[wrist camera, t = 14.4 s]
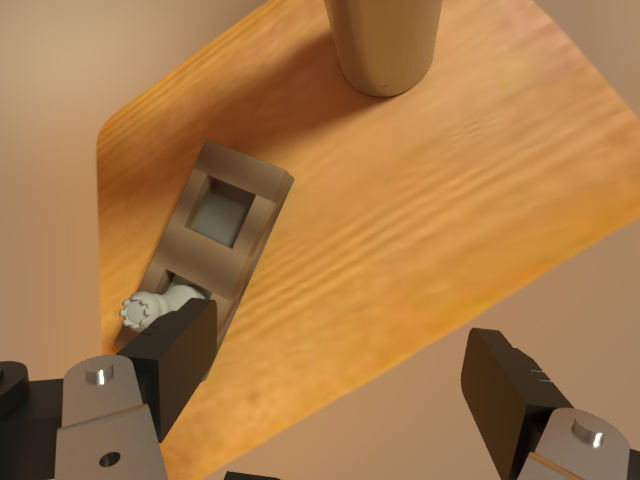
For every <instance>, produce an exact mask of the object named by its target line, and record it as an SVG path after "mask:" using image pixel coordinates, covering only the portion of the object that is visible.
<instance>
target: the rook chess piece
mask: <svg viewBox="0 0 640 480" xmlns="http://www.w3.org/2000/svg"><path fill="white" fill-rule="evenodd" d="M190 298H202V299H205V296H204V294H203V292H202V291H201V290H200V289H199V288H198V287H196V286H194V285H191V284H181V285H176V286H174V287H172V288H170V289H168V290H167V291H166V292H165V293H164V294H163V295H158V294H150V293H148V292H145V291H143V292H137V293H135V294H133V295H132V296H131V297H130V298H129V299H126V300H125V301H124V302H123V303H122V305H124V306H125V308H124V310H120V316H124V318H125V320H124V321H122V323H123V324H124V325H125V326H129V327H130V328H131V329H132V330H135V331H137V332H142V331H143V330H144V329H145V328H146V327H147V328H148V325H149V324H151V323H152V322H153V321H154V320H155V319H156V318H157V317H159V316H162V315H164V314H166V313H168V312H170V311H177V310H178V309H179V308H180V307H181V306H182V305H184V304H185V303H186V302H187V301H188V300H189V299H190Z"/></svg>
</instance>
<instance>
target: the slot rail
mask: <svg viewBox="0 0 640 480" xmlns="http://www.w3.org/2000/svg"><path fill="white" fill-rule="evenodd" d="M293 181H294V178H293V177H292V176H291V175H290V174H289V173H288V172H287V171H286V170H284V169H282V168H279V167H277V166H274V165H272V164H269V163H266V162H264V161H261V160H259V159H256V158H254V157H251V156H249V155H246V154H244V153H241V152H238V151H236V150H233V149H231V148H228V147H226V146H223V145H221V144H218V143H216V142H213V141H211V140H208V139H206V141H205V143H204V145H203V147H202V149H201V152H200V154H199V156H198V158H197V161H196V163H195V165H194V167H193V169H192V172H191V174H190V176H189V178H188V181H187V183H186V185H185V187H184V190H183V192H182V194H181V196H180V198H179V201H178V203H177V205H176V207H175V210H174V212H173V214H172V216H171V219H170V221H169V223H168V225H167V227H166V230H165V232H164V234H163V236H162V239H161V241H160V243H159V245H158V247H157V250H156V252H155V254H154V256H153V259H152V261H151V263H150V265H149V268H148V270H147V272H146V274H145V276H144V279H143V281H142V283H141V285H140V288H139V290H138V292H143V291H145V292H148V293H150V294H158V295H163V294H164V293H165V292H166V291H167V290H168V289H170V288H172V287H174V286H176V285H181V284H191V285H194V286H196V287H198V288H199V289H200V290H201V291H202V292H203V294H204V296H205V299H211V300H215V301H216V303H217V349H216V354H215V358H216V355H217V353H218V351H219V348H220V346H221V344H222V342H223V339H224V337H225V335H226V333H227V330H228V328H229V326H230V324H231V321H232V319H233V317H234V315H235V312H236V310H237V308H238V305H239V303H240V301H241V299H242V296H243V294H244V292H245V290H246V287H247V285H248V283H249V281H250V278H251V276H252V274H253V272H254V269H255V267H256V265H257V262H258V260H259V258H260V256H261V253H262V251H263V249H264V247H265V244H266V242H267V240H268V238H269V235H270V233H271V231H272V229H273V226H274V224H275V222H276V219H277V217H278V215H279V213H280V210H281V208H282V206H283V204H284V201H285V199H286V197H287V195H288V192H289V190H290V188H291V185H292V183H293ZM137 335H140V332H137V331H135V330H132V329H131V328H130V327H129V326H125V325H124V324H123V325H122V328H121V330H120V332H119V334H118V337H117V339H116V341H115V343H114V345H116V346H118V347H120V348H121V349H122V348H123V347H125V346H126V345H127V344H128V343H129V342H130V341H131V340H132V339H134V338H135V337H136V336H137ZM215 358H214V360H215ZM213 362H214V361H213ZM212 364H213V363H212ZM211 367H212V365H211ZM211 367H210V368H209V370H208V371H207V373H206V374H205V376H204V377H203V379H202V381H201V382H203V381H205V380H206V378H207V376H208V373H209V371H210V369H211ZM201 382H200V383H201Z"/></svg>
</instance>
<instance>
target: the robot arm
mask: <svg viewBox="0 0 640 480" xmlns="http://www.w3.org/2000/svg"><path fill="white" fill-rule="evenodd" d="M324 3H325V7H326V11H327V15H328V19H329V23H330V27H331V30H332V34H333V38H334V42H335V46H336V50H337V54H338V57H339V61H340V65H341V69H342V72H343V74H344V76H345V78H346V80H347V81H348V82H349V83H350V84H351V86H353V87H354V88H355V89H357V90H358V91H360V92H362V93H364V94H366V95H370V96H375V97H388V96H393V95H398V94H400V93H402V92H405V91H407V90H409V89H410V88H412V87H413V86H415V85H416V84H417V83H418V82H419V81H420V80H421V79H422V78H423V77H424V75H425V74H426V72H427V71H428V69H429V67H430V64H431V62H432V59H433V53H434V47H435V41H436V36H437V30H438V24H439V18H440V12H441V6H442V0H324ZM216 349H217V303H216V301H215V300H211V299H202V298H190V299H189V300H188V301H187V302H186V303H185V304H184V305H182V306H181V307H180V308H179V309H178V310H177V311H170V312H168V313H166V314H164V315H162V316H159V317H157V318H156V319H155V320H154V321H153V322H152V323H151V324H149V325H148V328H147V327H146V328H145V329H144V330H143V331H142V332H140V335H137V336H136V337H135V338H134V339H132V340H131V341H130V342H129V343H128V344H127V345H126V346H125V347H123V348H122V349H121V350H120V351H119V352H118V353H117V354H115V355H102V356H97V357H93V358H90V359H87V360H84V361H82V362H80V363H78V364H76V365H75V366H73V367H72V368H71V369H69V370H68V372H67V373H66V374H65V376H64V378H63V379H53V380H41V381H29V378H28V371H27V367H26V366H25V365H24V364H22V363H19V362H13V361H4V362H0V480H48V479H55V480H168V476H167V472H166V469H165V465H164V461H163V457H162V454H161V450H160V446H159V443H162V441H163V440H164V438H165V437H166V435H167V434H168V432H169V430H170V429H171V427H172V426H173V424H174V423H175V421H176V420H177V418H178V416H179V415H180V413H181V412H182V410H183V409H184V407H185V406H186V404H187V402H188V401H189V399H190V398H191V396H192V395H193V393H194V391H195V390H196V388H197V387H198V385H199V384H200V382H201V381H202V379H203V377H204V376H205V374H206V373H207V371H208V370H209V368H210V367H211V365H212V363H213V361H214V358H215V354H216ZM461 387H462V392H463V395H464V397H465V400H466V402H467V404H468V406H469V408H470V411H471V413H472V415H473V417H474V420H475V422H476V424H477V427H478V429H479V431H480V433H481V435H482V438H483V440H484V442H485V444H486V447H487V449H488V451H489V453H490V456H491V458H492V460H493V462H494V464H495V467H496V469H497V471H498V474H499V476H500V478H501V480H640V452H639V451H636V450H633V449H630V445H629V443H628V441H627V439H626V438H625V437H624V435H623V434H622V433H621V432H620V431H619V430H618V429H617V428H615V427H614V426H613V425H611V424H610V423H608V422H606V421H605V420H603V419H601V418H599V417H597V416H595V415H593V414H590V413H588V412H585V411H582V410H578V409H575V408H574V407H573V406H572V405H571V404H570V402H569V401H568V400H567V399H566V398H565V397H564V395H563V394H562V393H561V392H560V391H559V390H558V388H557V387H556V386H555V385H554V384H553V382H550V379H549V378H548V377H547V375H546V374H545V373H544V372H542V369H541V368H540V367H539V366H538V365H537V363H536V362H535V361H534V360H533V359H532V358H530V357H529V356H528V355H526V354H525V353H523V352H522V351H520V350H519V349H517V348H513V347H512V346H511V344H510V343H509V342H508V341H507V339H506V338H505V337H504V336H503V334H502V333H501V332H500V331H499V330H490V329H480V328H472V329H471V330H470V333H469V336H468V341H467V347H466V352H465V357H464V363H463V368H462V373H461ZM224 480H280V479H278V478H273V477H265V476H258V475H251V474H244V473H236V472H229V471H227V473H226V475H225V478H224Z"/></svg>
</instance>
